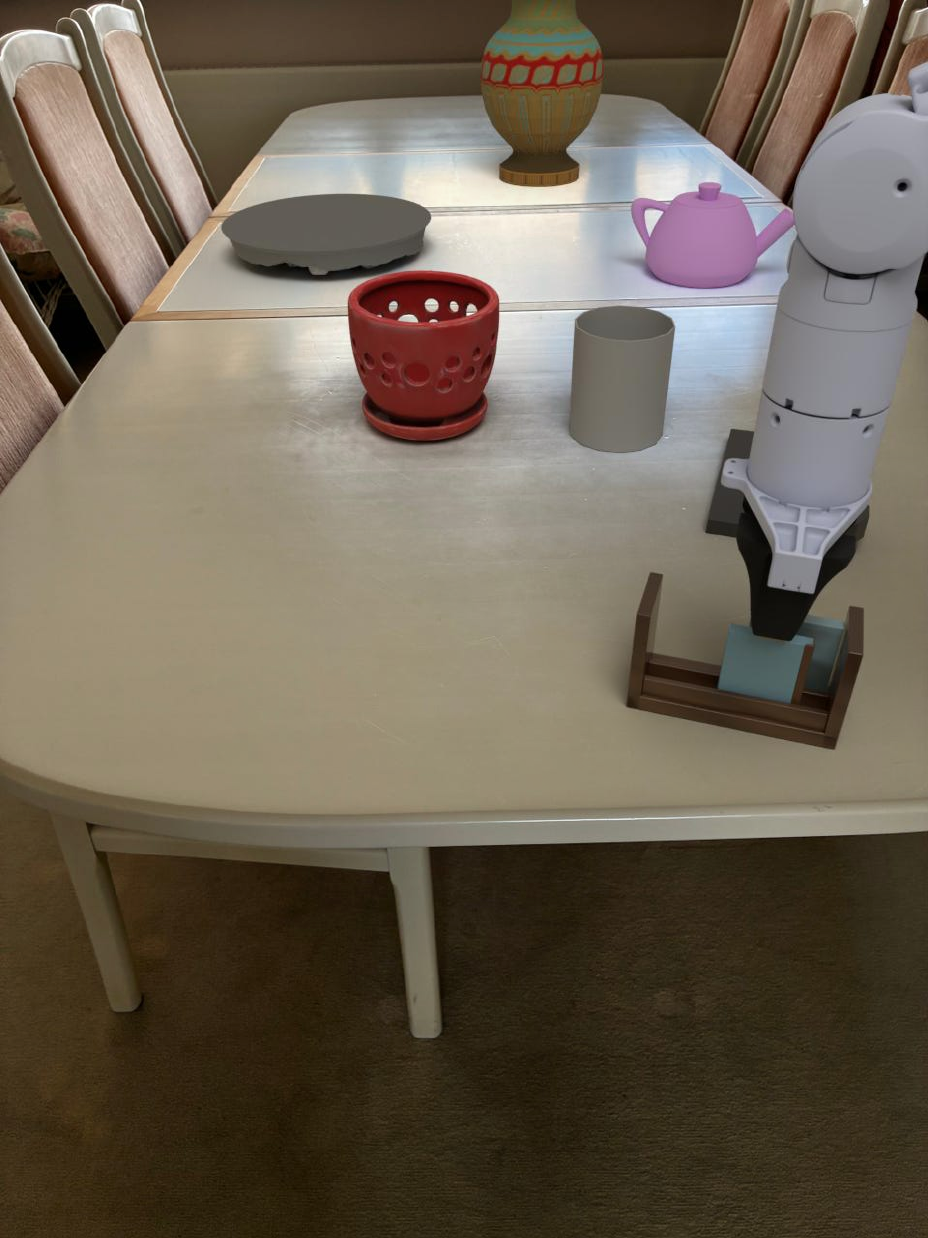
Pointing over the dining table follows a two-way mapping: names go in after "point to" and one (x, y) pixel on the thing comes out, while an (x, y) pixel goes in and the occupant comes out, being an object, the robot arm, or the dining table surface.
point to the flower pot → (424, 352)
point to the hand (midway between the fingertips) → (773, 625)
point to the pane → (765, 665)
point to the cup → (620, 377)
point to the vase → (541, 89)
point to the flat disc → (328, 231)
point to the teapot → (705, 237)
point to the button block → (730, 500)
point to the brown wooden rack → (697, 698)
